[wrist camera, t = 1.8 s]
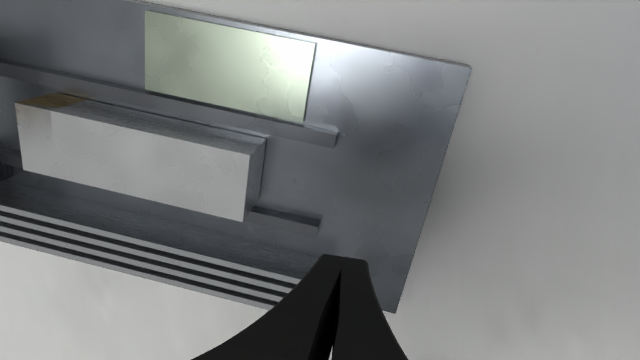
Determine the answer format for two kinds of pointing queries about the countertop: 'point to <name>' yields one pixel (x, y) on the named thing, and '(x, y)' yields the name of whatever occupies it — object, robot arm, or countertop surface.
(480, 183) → the countertop surface
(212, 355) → the robot arm
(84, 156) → the rectangular block
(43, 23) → the heatsink base
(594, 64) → the countertop surface
